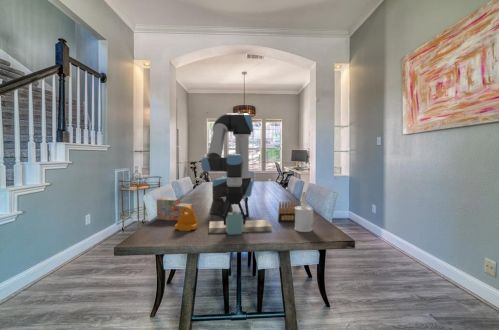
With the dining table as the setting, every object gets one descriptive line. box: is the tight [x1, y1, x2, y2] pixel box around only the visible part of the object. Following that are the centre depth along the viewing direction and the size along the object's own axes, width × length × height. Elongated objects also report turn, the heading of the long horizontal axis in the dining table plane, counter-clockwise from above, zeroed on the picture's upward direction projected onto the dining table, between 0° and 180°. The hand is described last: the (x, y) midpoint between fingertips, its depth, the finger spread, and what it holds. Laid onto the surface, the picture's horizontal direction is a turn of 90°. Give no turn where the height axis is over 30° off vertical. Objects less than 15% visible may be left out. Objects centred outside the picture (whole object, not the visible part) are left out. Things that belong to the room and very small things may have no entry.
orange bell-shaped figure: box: [174, 205, 199, 232], centre depth 136 cm, size 11×7×12 cm, turn 90°
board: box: [208, 219, 272, 234], centre depth 137 cm, size 32×12×2 cm, turn 96°
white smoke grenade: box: [293, 191, 314, 233], centre depth 134 cm, size 10×9×20 cm
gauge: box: [226, 210, 243, 236], centre depth 133 cm, size 7×14×11 cm, turn 5°
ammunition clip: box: [277, 201, 297, 223], centre depth 149 cm, size 11×2×12 cm, turn 95°
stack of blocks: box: [156, 197, 194, 222], centre depth 155 cm, size 21×6×12 cm, turn 73°
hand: (234, 230), depth 129 cm, fingers closed on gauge, 7 cm apart
